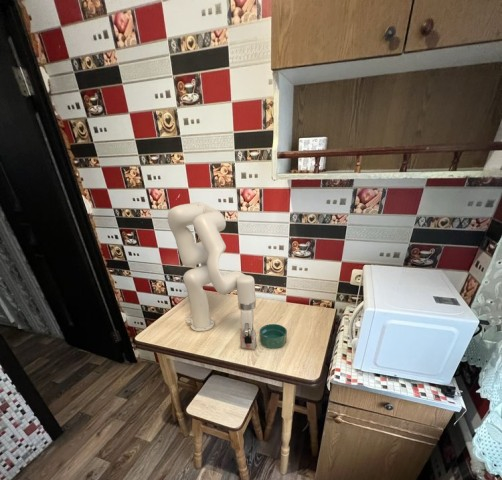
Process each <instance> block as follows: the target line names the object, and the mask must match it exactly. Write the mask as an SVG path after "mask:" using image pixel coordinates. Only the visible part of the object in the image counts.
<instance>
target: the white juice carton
mask: <svg viewBox="0 0 502 480" xmlns="http://www.w3.org/2000/svg"><path fill="white" fill-rule="evenodd" d="M248 330H250V329H248ZM248 333H249V331H248ZM239 334H240V335H239V342H240V343H239V344H240V349H244V350H251V351H255V350H256V348H257V346H258V345H257V344H258V343H257V333H256V330H255V329H253V330H252V331H251V337H252V343H251V344H245V341H244V331H242V330H241V329H240V333H239Z"/></svg>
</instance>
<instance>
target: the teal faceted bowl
mask: <svg viewBox="0 0 502 480" xmlns="http://www.w3.org/2000/svg"><path fill="white" fill-rule="evenodd" d="M258 333H259V335H258V337H259V339H258V340H259V343H260V345H261V346H262V347H265V348H267V349H280V348H283V347H284V346H285V345H286V344H287V341H288V339H287V337H288V330H287V328H286V327H285V326H284V325H280V324H277V323H269V324H265V325H263V326H261V327H260V328H259V332H258Z"/></svg>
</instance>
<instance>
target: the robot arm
mask: <svg viewBox="0 0 502 480" xmlns="http://www.w3.org/2000/svg"><path fill="white" fill-rule="evenodd" d="M167 223H168V226H169V227H168V228H169V229H170V232H171V233H172V235H173V238H174V240H175V244H176V247H177V251H178V255H179V258H180V260H181V261H180V262H181V263H182V265H183V266H184V267H187V268H191V267H194V266H196V267H194V268H191V269H188V270H187V271H186V272H184V274H183V276H182V280H183V283H184V286H185V289H186V293H187V297H188V302H189V307H190V313H191V317H185V318H184V321H185V323H186V324H190V329H191V330H193V331H196V332H206V331H209V330H211V329H213V327H214V326H215V322H214V320H213V319H212V318H211V313H210V305H209V297H208V293H207V291H205V289H204V288H203V287H205V286H206V285H207V286H208V285H209V284H211V285H212V287H213V288H214V290H215V291H216V292H217V293H218V294H219V295H222V296H224V295H228V294H230V293H232V292H234V291H236V295H237V305H238V310H239V311H240V331H241V330H242V331H244V341H245V344H251V343H252V337H251V331H252V330H254V317H255V315H254V313H255V312H254V310H255V309H256V308H257V303H256V284H255V283H256V282H255V278H254V276H253V275H250V274H249V275H248V274H244V273H243V272H241V271H239V270H233V271H230V272H229V273H226V274H223V275H222V273H221V271H220V267H219V260H220V258H221V256H222V254H223V253H224V252H225V251H226V249H227V246H226V245H227V244H226V243H225V241H224V239H223V237H222V235H221V233H220V232H223V231H224V230H225V229H226V226H227V221H226V218H225V216H224V214H222V212H221V211H220V210H217V209H216V208H214V207H213V206H210V205H208V204H206V203H204V202H200V201H195V202H191V203H184V204H179V205H176V206H173V207H171V209H169V211H168V213H167ZM189 226H193V228H194V231H195V233H196V234H197V237H198V238H199V240H200V241H199V242H196V241H195V236H194V233H193V232H192V230H191V229H190V228H189ZM198 265H199V266H198ZM248 329H250V330H248ZM248 331H249V333H248Z"/></svg>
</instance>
